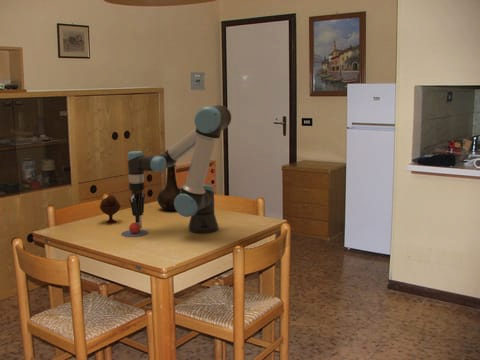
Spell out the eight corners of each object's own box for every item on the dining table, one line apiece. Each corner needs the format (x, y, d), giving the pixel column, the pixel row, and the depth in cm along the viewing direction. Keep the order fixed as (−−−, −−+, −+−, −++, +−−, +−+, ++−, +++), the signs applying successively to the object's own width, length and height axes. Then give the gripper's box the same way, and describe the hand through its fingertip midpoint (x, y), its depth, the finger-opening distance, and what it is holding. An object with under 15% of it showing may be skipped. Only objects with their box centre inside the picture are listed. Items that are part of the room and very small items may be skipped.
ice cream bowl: (123, 219, 312) (122, 193, 309) (117, 224, 301) (115, 197, 299) (104, 219, 313) (103, 193, 311) (98, 224, 302) (96, 197, 300)
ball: (141, 224, 281) (137, 234, 280) (142, 225, 286) (138, 236, 285) (131, 220, 281) (126, 230, 279) (131, 222, 286) (127, 232, 285)
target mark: (153, 232, 285) (153, 232, 285) (133, 238, 275) (133, 238, 274) (135, 228, 292) (135, 228, 292) (115, 234, 282) (115, 234, 282)
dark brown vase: (183, 213, 325) (181, 164, 320) (153, 212, 328) (151, 164, 323) (192, 206, 342) (190, 160, 337) (163, 205, 346) (161, 160, 341)
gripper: (135, 179, 291) (138, 224, 295) (123, 184, 278) (126, 230, 282) (149, 180, 288) (151, 225, 292) (137, 184, 276) (139, 231, 280)
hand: (138, 228), depth 287 cm, fingers closed
